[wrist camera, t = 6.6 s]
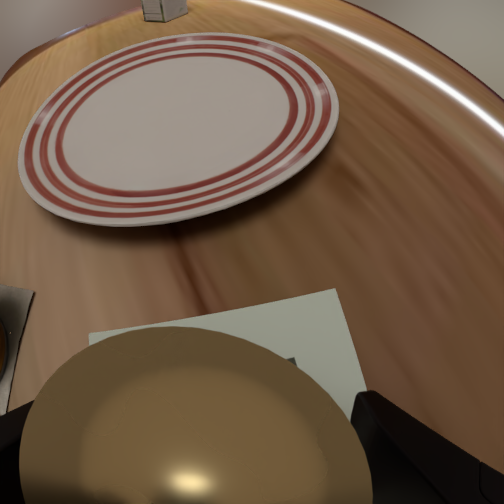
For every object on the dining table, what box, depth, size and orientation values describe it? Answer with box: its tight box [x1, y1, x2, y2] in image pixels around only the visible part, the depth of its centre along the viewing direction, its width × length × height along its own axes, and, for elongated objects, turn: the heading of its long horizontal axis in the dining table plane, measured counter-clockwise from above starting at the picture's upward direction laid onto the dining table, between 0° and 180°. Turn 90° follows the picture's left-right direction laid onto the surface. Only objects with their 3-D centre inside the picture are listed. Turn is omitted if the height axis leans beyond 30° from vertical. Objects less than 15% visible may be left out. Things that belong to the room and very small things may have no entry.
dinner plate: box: [18, 33, 339, 227], centre depth 24 cm, size 27×27×3 cm
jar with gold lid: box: [19, 326, 373, 504], centre depth 8 cm, size 4×4×12 cm
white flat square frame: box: [89, 288, 367, 421], centre depth 12 cm, size 12×12×2 cm
